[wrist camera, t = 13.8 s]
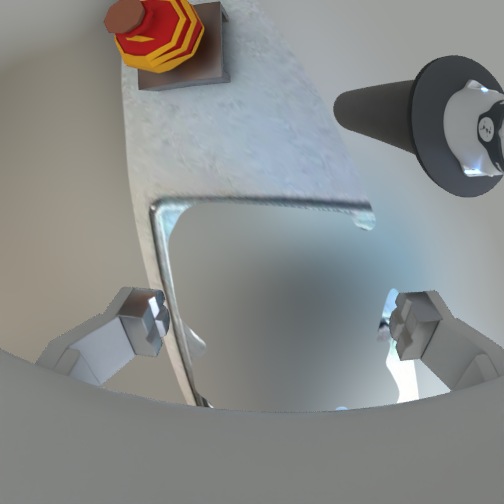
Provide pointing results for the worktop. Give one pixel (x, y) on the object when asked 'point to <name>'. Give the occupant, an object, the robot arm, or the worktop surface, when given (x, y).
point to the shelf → (195, 57)
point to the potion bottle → (154, 32)
